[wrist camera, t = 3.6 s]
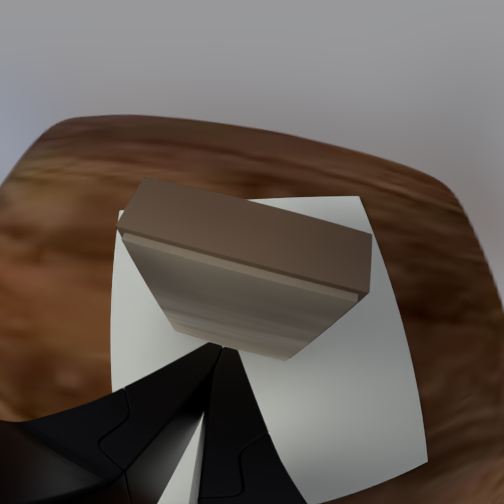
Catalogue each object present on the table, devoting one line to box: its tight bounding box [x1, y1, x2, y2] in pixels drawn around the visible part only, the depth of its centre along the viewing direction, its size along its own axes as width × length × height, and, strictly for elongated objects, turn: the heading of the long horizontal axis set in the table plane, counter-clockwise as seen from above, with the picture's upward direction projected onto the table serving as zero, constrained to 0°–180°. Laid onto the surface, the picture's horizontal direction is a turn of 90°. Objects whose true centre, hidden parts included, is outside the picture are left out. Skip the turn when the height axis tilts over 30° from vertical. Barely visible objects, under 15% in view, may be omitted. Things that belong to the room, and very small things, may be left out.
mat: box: [111, 196, 428, 504], centre depth 15 cm, size 18×16×1 cm
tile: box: [116, 177, 372, 361], centre depth 11 cm, size 2×6×9 cm, turn 76°
